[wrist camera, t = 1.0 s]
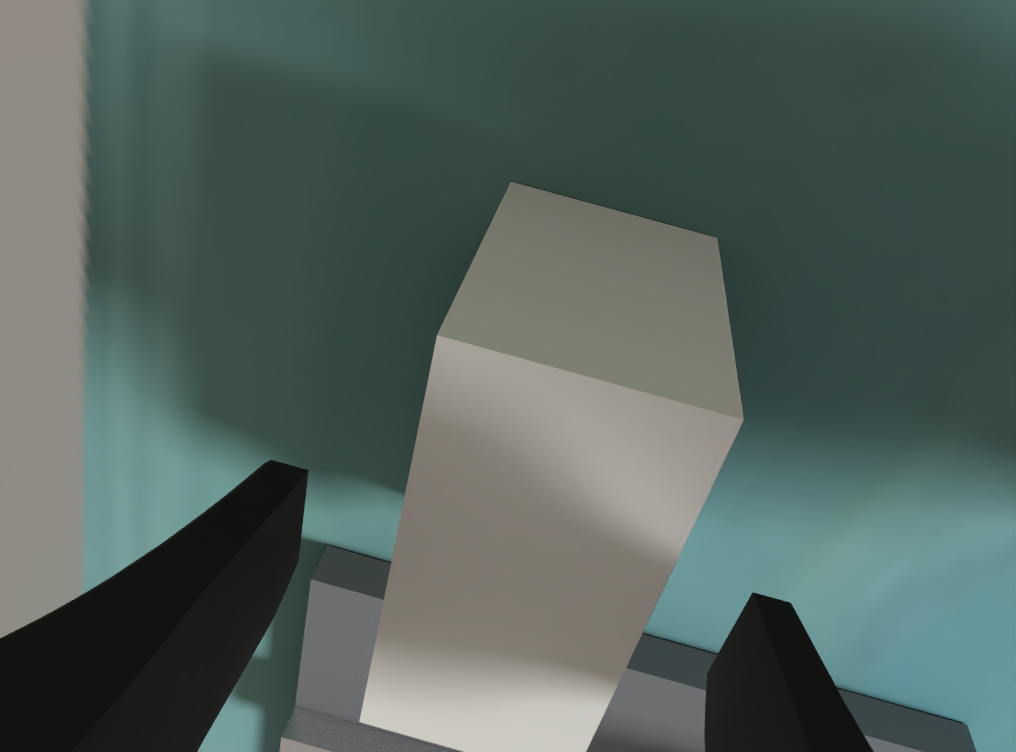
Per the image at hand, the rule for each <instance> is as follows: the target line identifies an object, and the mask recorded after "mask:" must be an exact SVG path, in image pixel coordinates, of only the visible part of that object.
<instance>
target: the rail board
mask: <svg viewBox="0 0 1016 752" xmlns="http://www.w3.org/2000/svg"><path fill="white" fill-rule="evenodd" d="M390 567H391V563H388V562H385V561H381V560H378V559H374V558H370V557H367V556H363V555H360V554H356V553H353V552H349V551H346V550H342V549H338V548H335V547H331V546H328V545H327V547H326V550H325V552H324V554H323V556H322V558H321V560H320V562H319V564H318V566H317V568H316V570H315V572H314V574H313V576H312V578H311V582H310V590H309V598H308V606H307V614H306V622H305V630H304V638H303V646H302V654H301V662H300V670H299V678H298V686H297V694H296V702H295V707H294V709H293V711H292V714H291V716H290V718H289V720H288V723H287V725H286V727H285V730H284V732H283V734H282V736H281V743H280V752H463V751H459V750H456V749H452V748H449V747H445V746H442V745H438V744H435V743H431V742H428V741H424V740H421V739H417V738H414V737H410V736H407V735H403V734H400V733H396V732H393V731H389V730H386V729H382V728H379V727H375V726H371V725H368V724H364V723H361V722H359V721H360V716H361V711H362V706H363V701H364V696H365V691H366V686H367V681H368V676H369V671H370V666H371V661H372V656H373V651H374V646H375V641H376V636H377V631H378V626H379V621H380V616H381V611H382V607H383V602H384V597H385V592H386V587H387V582H388V577H389V572H390ZM716 657H717V655H716V654H712V653H709V652H705V651H702V650H698V649H695V648H691V647H687V646H684V645H680V644H677V643H673V642H670V641H666V640H663V639H659V638H655V637H652V636H648V635H645V634H642V635H641V637H640V639H639V642H638V644H637V646H636V648H635V650H634V652H633V654H632V656H631V658H630V660H629V663H628V665H627V667H626V669H625V671H624V673H623V675H622V677H621V679H620V681H619V684H618V686H617V688H616V690H615V692H614V694H613V696H612V698H611V700H610V703H609V705H608V707H607V709H606V711H605V713H604V715H603V717H602V719H601V721H600V724H599V726H598V728H597V730H596V732H595V734H594V736H593V738H592V740H591V742H590V745H589V747H588V749H587V751H586V752H705V741H704V729H705V701H706V683H707V673H708V671H709V669H710V667H711V666H712V664H713V662H714V660H715V658H716ZM838 691H839V693H840V695H841V696H842V698H843V700H844V702H845V704H846V705H847V707H848V709H849V711H850V712H851V714H852V716H853V717H854V719H855V721H856V723H857V724H858V726H859V728H860V729H861V731H862V733H863V735H864V736H865V738H866V740H867V741H868V743H869V745H870V746H871V748H872V750H873V751H874V752H976V749H975V746H974V743H973V740H972V738H971V735H970V732H969V729H968V726H967V725H965V724H962V723H958V722H955V721H951V720H947V719H944V718H940V717H937V716H933V715H930V714H926V713H922V712H919V711H915V710H912V709H908V708H905V707H901V706H898V705H894V704H890V703H887V702H883V701H880V700H876V699H873V698H869V697H866V696H862V695H858V694H855V693H851V692H848V691H844V690H841V689H838Z"/></svg>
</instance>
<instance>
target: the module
mask: <svg viewBox="0 0 1016 752" xmlns="http://www.w3.org/2000/svg"><path fill="white" fill-rule="evenodd" d="M743 421H744V417H743V410H742V403H741V397H740V390H739V383H738V376H737V369H736V362H735V355H734V349H733V342H732V335H731V328H730V321H729V314H728V307H727V301H726V294H725V287H724V280H723V273H722V266H721V259H720V253H719V246H718V239H717V238H716V237H712V236H708V235H705V234H701V233H697V232H694V231H690V230H686V229H683V228H679V227H675V226H672V225H668V224H664V223H661V222H657V221H653V220H650V219H646V218H642V217H639V216H635V215H631V214H628V213H624V212H621V211H617V210H613V209H610V208H606V207H602V206H599V205H595V204H591V203H588V202H584V201H580V200H577V199H573V198H569V197H566V196H562V195H558V194H555V193H551V192H547V191H544V190H540V189H536V188H533V187H529V186H525V185H522V184H518V183H514V182H510V184H509V186H508V189H507V191H506V193H505V195H504V197H503V199H502V201H501V203H500V205H499V207H498V209H497V211H496V213H495V216H494V218H493V220H492V222H491V224H490V226H489V228H488V230H487V232H486V234H485V236H484V238H483V241H482V243H481V245H480V247H479V249H478V251H477V253H476V255H475V257H474V259H473V261H472V263H471V265H470V268H469V270H468V272H467V274H466V276H465V278H464V280H463V282H462V284H461V286H460V288H459V290H458V293H457V295H456V297H455V299H454V301H453V303H452V305H451V307H450V309H449V311H448V313H447V315H446V317H445V320H444V322H443V324H442V326H441V328H440V330H439V332H438V334H437V338H436V343H435V348H434V353H433V358H432V363H431V368H430V373H429V378H428V383H427V388H426V393H425V398H424V403H423V407H422V412H421V417H420V422H419V427H418V432H417V437H416V442H415V447H414V452H413V457H412V462H411V467H410V472H409V477H408V482H407V487H406V492H405V497H404V502H403V507H402V512H401V517H400V522H399V527H398V532H397V537H396V542H395V547H394V552H393V557H392V562H391V567H390V572H389V577H388V582H387V587H386V592H385V597H384V602H383V607H382V611H381V616H380V621H379V626H378V631H377V636H376V641H375V646H374V651H373V656H372V661H371V666H370V671H369V676H368V681H367V686H366V691H365V696H364V701H363V706H362V711H361V716H360V721H359V722H361V723H364V724H368V725H371V726H375V727H379V728H382V729H386V730H389V731H393V732H396V733H400V734H403V735H407V736H410V737H414V738H417V739H421V740H424V741H428V742H431V743H435V744H438V745H442V746H445V747H449V748H452V749H456V750H459V751H463V752H586V751H587V749H588V747H589V745H590V742H591V740H592V738H593V736H594V734H595V732H596V730H597V728H598V726H599V724H600V721H601V719H602V717H603V715H604V713H605V711H606V709H607V707H608V705H609V703H610V700H611V698H612V696H613V694H614V692H615V690H616V688H617V686H618V684H619V681H620V679H621V677H622V675H623V673H624V671H625V669H626V667H627V665H628V663H629V660H630V658H631V656H632V654H633V652H634V650H635V648H636V646H637V644H638V642H639V639H640V637H641V635H642V633H643V631H644V629H645V627H646V625H647V623H648V620H649V618H650V616H651V614H652V612H653V610H654V608H655V606H656V604H657V602H658V599H659V597H660V595H661V593H662V591H663V589H664V587H665V585H666V583H667V581H668V578H669V576H670V574H671V572H672V570H673V568H674V566H675V564H676V562H677V560H678V557H679V555H680V553H681V551H682V549H683V547H684V545H685V543H686V541H687V538H688V536H689V534H690V532H691V530H692V528H693V526H694V524H695V522H696V520H697V517H698V515H699V513H700V511H701V509H702V507H703V505H704V503H705V501H706V499H707V496H708V494H709V492H710V490H711V488H712V486H713V484H714V482H715V480H716V477H717V475H718V473H719V471H720V469H721V467H722V465H723V463H724V461H725V459H726V456H727V454H728V452H729V450H730V448H731V446H732V444H733V442H734V440H735V438H736V435H737V433H738V431H739V429H740V427H741V425H742V423H743Z"/></svg>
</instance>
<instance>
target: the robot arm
mask: <svg viewBox="0 0 1016 752" xmlns="http://www.w3.org/2000/svg"><path fill="white" fill-rule="evenodd" d="M307 479H308V470H306V469H302V468H299V467H295V466H292V465H288V464H284V463H281V462H277V461H273V460H270V461H268V462H266V463H264V464H263V465H262V466H261V467H259V468H258V469H257V470H256V471H255V472H254V473H252V474H251V475H250V476H249V477H248V478H246V479H245V480H244V481H243V482H242V483H240V484H239V485H238V486H237V487H235V488H234V489H233V490H232V491H231V492H229V493H228V494H227V495H226V496H224V497H223V498H222V499H221V500H219V501H218V502H217V503H215V504H214V505H213V506H212V507H210V508H209V509H208V510H207V511H205V512H204V513H203V514H201V515H200V516H199V517H197V518H196V519H194V520H193V521H192V522H190V523H189V524H188V525H186V526H185V527H184V528H182V529H181V530H180V531H178V532H177V533H176V534H174V535H173V536H171V537H170V538H169V539H167V540H166V541H165V542H163V543H162V544H160V545H159V546H157V547H156V548H154V549H153V550H151V551H150V552H148V553H147V554H145V555H144V556H142V557H141V558H139V559H138V560H136V561H135V562H133V563H132V564H130V565H129V566H127V567H126V568H124V569H123V570H121V571H120V572H118V573H117V574H115V575H114V576H112V577H111V578H109V579H107V580H106V581H104V582H102V583H101V584H99V585H98V586H96V587H94V588H93V589H91V590H89V591H88V592H86V593H84V594H82V595H81V596H79V597H77V598H76V599H74V600H72V601H70V602H69V603H67V604H65V605H63V606H62V607H60V608H58V609H56V610H54V611H53V612H51V613H49V614H47V615H45V616H43V617H41V618H40V619H37V620H36V621H34V622H32V623H30V624H28V625H26V626H24V627H22V628H20V629H18V630H16V631H14V632H12V633H10V634H8V635H6V636H4V637H2V638H0V752H197V751H198V749H199V747H200V745H201V744H202V742H203V740H204V738H205V736H206V735H207V733H208V731H209V730H210V728H211V726H212V724H213V723H214V721H215V719H216V717H217V716H218V714H219V712H220V711H221V709H222V707H223V705H224V704H225V702H226V700H227V698H228V697H229V695H230V693H231V692H232V690H233V688H234V686H235V685H236V683H237V681H238V679H239V678H240V676H241V674H242V673H243V671H244V669H245V667H246V666H247V664H248V662H249V660H250V659H251V657H252V655H253V653H254V652H255V650H256V648H257V646H258V645H259V643H260V641H261V639H262V638H263V636H264V634H265V632H266V631H267V629H268V627H269V625H270V624H271V622H272V620H273V618H274V616H275V614H276V612H277V609H278V607H279V605H280V602H281V600H282V598H283V596H284V593H285V591H286V589H287V586H288V584H289V582H290V579H291V577H292V575H293V572H294V570H295V567H296V565H297V563H298V560H299V551H300V542H301V533H302V524H303V515H304V506H305V497H306V488H307ZM704 741H705V752H874V751H873V750H872V748H871V746H870V745H869V743H868V741H867V740H866V738H865V736H864V735H863V733H862V731H861V729H860V728H859V726H858V724H857V723H856V721H855V719H854V717H853V716H852V714H851V712H850V711H849V709H848V707H847V705H846V704H845V702H844V700H843V698H842V696H841V695H840V693H839V691H838V689H837V687H836V686H835V684H834V682H833V680H832V678H831V676H830V675H829V673H828V671H827V669H826V667H825V665H824V664H823V662H822V660H821V658H820V656H819V654H818V652H817V651H816V649H815V647H814V645H813V643H812V641H811V639H810V638H809V636H808V634H807V632H806V630H805V628H804V626H803V624H802V623H801V621H800V619H799V617H798V615H797V613H796V612H795V610H794V608H793V606H792V604H791V603H789V602H786V601H782V600H779V599H775V598H771V597H768V596H764V595H760V594H757V593H752V595H751V596H750V598H749V600H748V602H747V604H746V605H745V607H744V609H743V611H742V612H741V614H740V616H739V618H738V620H737V621H736V623H735V625H734V627H733V628H732V630H731V632H730V634H729V635H728V637H727V639H726V641H725V643H724V644H723V646H722V648H721V650H720V651H719V653H718V655H717V657H716V658H715V660H714V662H713V664H712V666H711V667H710V669H709V671H708V673H707V683H706V701H705V729H704Z"/></svg>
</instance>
